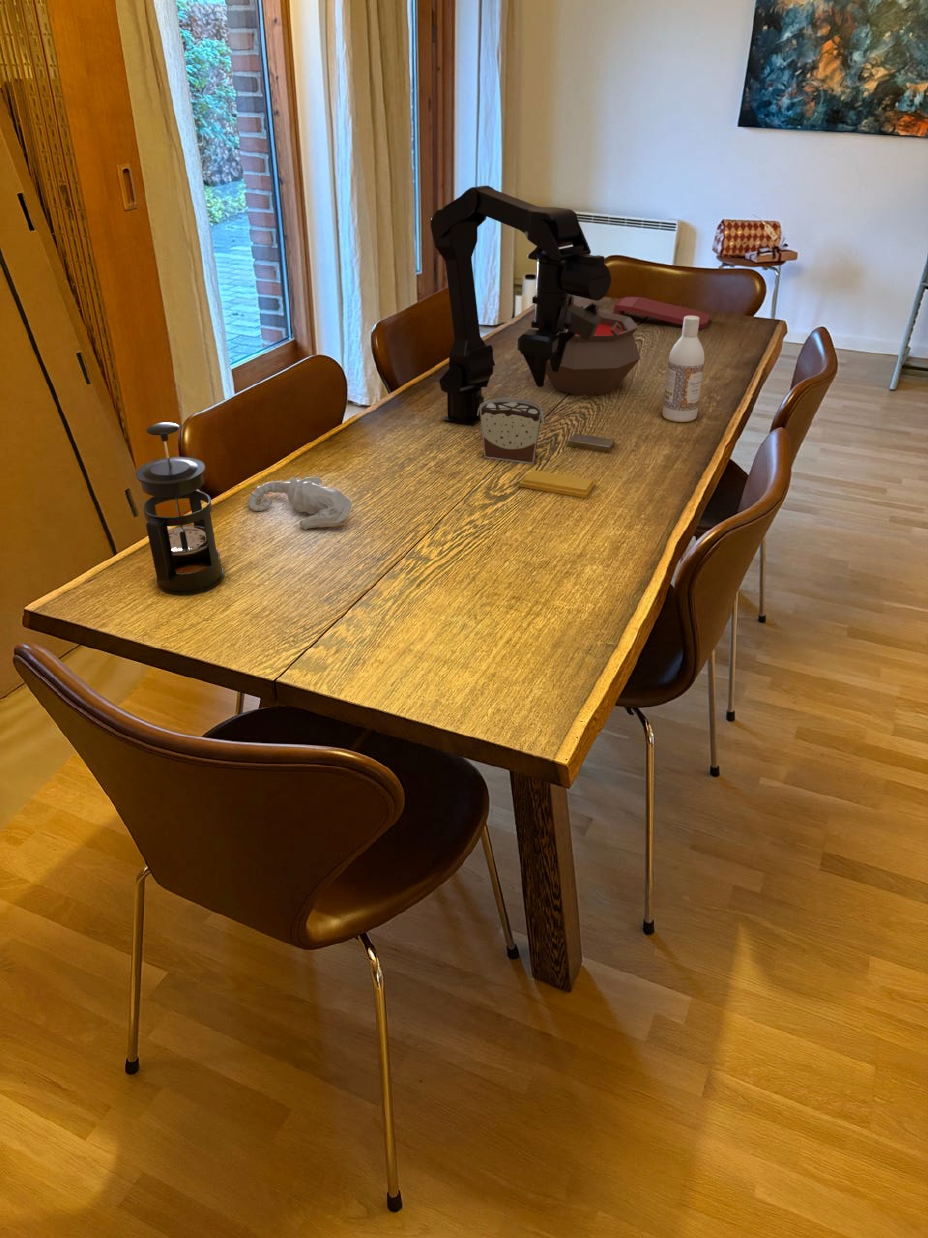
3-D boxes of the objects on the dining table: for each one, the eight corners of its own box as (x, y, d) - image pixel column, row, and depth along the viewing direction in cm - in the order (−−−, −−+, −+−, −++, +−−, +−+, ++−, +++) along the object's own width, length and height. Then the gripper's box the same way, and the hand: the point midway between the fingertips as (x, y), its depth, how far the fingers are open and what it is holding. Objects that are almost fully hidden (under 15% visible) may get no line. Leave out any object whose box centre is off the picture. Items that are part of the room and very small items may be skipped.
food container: (549, 452, 171) (552, 400, 166) (541, 465, 166) (543, 412, 161) (486, 444, 174) (487, 393, 169) (476, 456, 170) (477, 404, 164)
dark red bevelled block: (706, 331, 254) (619, 310, 259) (711, 313, 251) (623, 292, 256) (700, 343, 244) (610, 320, 249) (705, 325, 241) (614, 302, 246)
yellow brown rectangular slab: (518, 486, 158) (519, 479, 157) (528, 476, 162) (529, 468, 161) (585, 498, 154) (586, 490, 153) (594, 487, 158) (594, 479, 157)
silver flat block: (567, 446, 174) (568, 440, 173) (574, 439, 177) (574, 433, 176) (608, 452, 171) (609, 446, 170) (614, 445, 174) (615, 439, 174)
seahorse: (226, 513, 147) (335, 516, 139) (256, 465, 154) (361, 465, 146) (240, 536, 151) (346, 539, 143) (268, 488, 157) (371, 489, 150)
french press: (181, 557, 137) (153, 408, 125) (238, 565, 135) (215, 415, 122) (137, 596, 127) (101, 439, 115) (197, 606, 125) (167, 447, 113)
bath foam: (678, 425, 183) (692, 323, 172) (654, 415, 188) (665, 315, 177) (703, 418, 186) (718, 318, 175) (679, 409, 191) (691, 310, 180)
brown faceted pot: (660, 392, 200) (668, 316, 191) (565, 409, 191) (570, 330, 182) (599, 363, 218) (604, 292, 209) (510, 377, 209) (512, 303, 200)
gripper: (583, 307, 147) (576, 401, 156) (612, 282, 162) (604, 369, 170) (518, 300, 151) (514, 392, 159) (552, 276, 165) (547, 362, 174)
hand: (548, 378), depth 166 cm, fingers open, 9 cm apart
